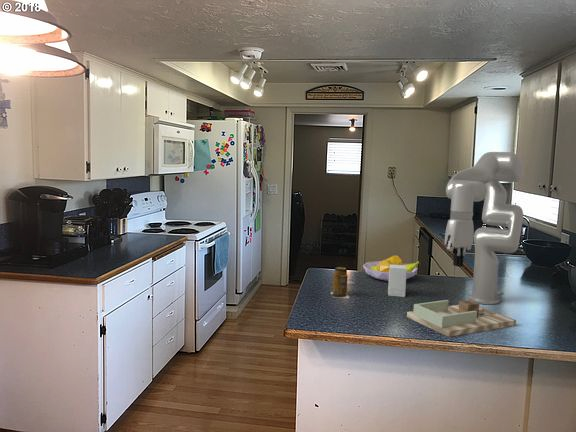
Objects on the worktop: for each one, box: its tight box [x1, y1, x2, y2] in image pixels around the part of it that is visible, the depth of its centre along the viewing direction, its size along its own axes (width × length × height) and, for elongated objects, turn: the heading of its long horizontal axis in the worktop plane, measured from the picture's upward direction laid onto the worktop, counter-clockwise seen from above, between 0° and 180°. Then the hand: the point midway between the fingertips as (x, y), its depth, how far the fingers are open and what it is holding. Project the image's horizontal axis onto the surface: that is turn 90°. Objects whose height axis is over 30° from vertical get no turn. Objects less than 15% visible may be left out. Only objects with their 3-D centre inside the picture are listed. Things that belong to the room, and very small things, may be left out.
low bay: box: [412, 299, 477, 328], centre depth 177 cm, size 16×15×4 cm
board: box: [406, 304, 517, 338], centre depth 181 cm, size 32×22×2 cm
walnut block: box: [458, 299, 480, 317], centre depth 182 cm, size 5×5×5 cm
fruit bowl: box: [362, 254, 420, 282], centre depth 243 cm, size 28×27×11 cm
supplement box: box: [387, 265, 407, 298], centre depth 215 cm, size 7×7×13 cm
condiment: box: [330, 266, 350, 299], centre depth 210 cm, size 7×8×12 cm
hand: (457, 265), depth 178 cm, fingers closed
